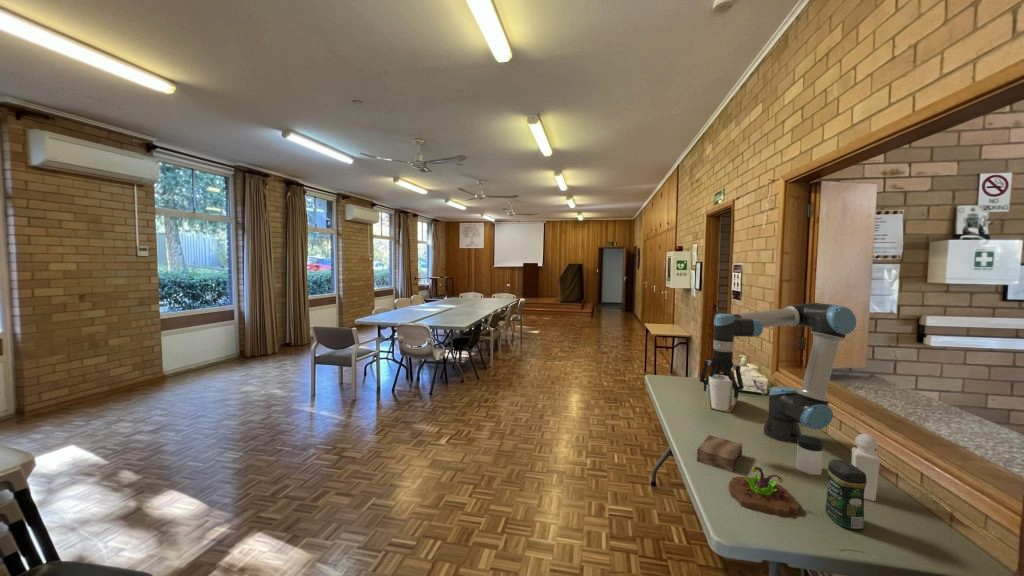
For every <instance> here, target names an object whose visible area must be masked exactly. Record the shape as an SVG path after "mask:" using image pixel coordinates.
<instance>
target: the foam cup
mask: <svg viewBox="0 0 1024 576" xmlns="http://www.w3.org/2000/svg"><path fill="white" fill-rule="evenodd" d="M708 384H710V395H711V405H712V407H713V408H715V409H718V410H717V411H720V410H728V408H729V403H730V398H731V393H732V388H733V386H732V381H731V380H729V377H728V376H723V375H713V377H711V376H709V383H708ZM715 409H714V410H715Z"/></svg>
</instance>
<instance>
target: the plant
mask: <svg viewBox="0 0 1024 576" xmlns="http://www.w3.org/2000/svg"><path fill="white" fill-rule="evenodd" d="M751 471H752V472H753V473H755V472H757V471H758V472H759V474H760V475H758V474H754V477H753V476H750V477H747V476H746V477H745V476H736V477H735V476H734V477H732V478H731V480H730V481H729V482H728V491H729V495H730V497H731V498H733V499H734V500H736V502H737V503H738V504H739V506H740V507H742V508H745V509H750V510H755V511H758V512H762V513H770V514H772V515H775V516H777V517H779V516H783V515H784V517H789V516H790V514H793V515H796V516H797V515H799V513H800V504H799V503H798V501H796V499H795V498H794V497H793V496H792V494H791V493H790V492H789V491H788V489H786V488H785V487H783V486H782V485H780V484H778V483H777V481H776V480H771V479H772V478H773V477H774V478H775V477H777V478H778V479H777V480H778V482H779V483H783V482H784V481H783V480H784V479H783V478H782V477H781V476H779V475H777V474H770V475H768V476H767V477H765V476H764V475H765V473H764V472H763V469H762V468H761V467H757V466H754V467H752V468H751Z"/></svg>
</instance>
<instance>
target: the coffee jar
mask: <svg viewBox="0 0 1024 576" xmlns="http://www.w3.org/2000/svg"><path fill="white" fill-rule="evenodd" d="M827 477H828V478H827V493H826V501H825V507H824V508H825V513H826V515H827V516H828V517H829V518H830V519H831V520H832V521H833V522H834V523H835V524H837V525H838V526H840V527H841V528H845V529H848V530H851V531H853V530H855V531H858V530H863V529H864V528H865V505H864V504H865V499H864V490H865V487H866V484H867V483H866V482H867V481H866V474H865V473H864V472H862V471H861V470H860V469H858V468H857V467H855V466H854V465H852V463H850V462H849V461H847V460H845V459H831V460H830V461H829V462H828V465H827Z"/></svg>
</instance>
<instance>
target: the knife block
mask: <svg viewBox="0 0 1024 576" xmlns="http://www.w3.org/2000/svg"><path fill="white" fill-rule="evenodd" d="M712 359H713V358H712ZM712 359H710V361H712ZM710 366H711V371H712V370H713V368H714V367H713V365H712V364H710ZM730 370H731V372H732V375H733V377H734V379H735V381H736V382H737V379H736V373H735V371H733V370H732V368H731V369H730ZM709 374H710V373H708V375H707V377H708V376H709ZM714 375H723V376H728V375H727V374H726V373H723V372H718V371H716V373H715V374H714ZM733 389H734V388H732V390H733ZM738 397H739V396H738ZM738 397H737V398H735V405H734V406H732V405H731V402H732V393H731V398H730V403H729V408H728V410H718V409H715V408H713V407H712V405H711V395H710V397H709V409H710V410H716V411H722V412H725V413H729V412H730V413H732V412H733V410H734V408H735V406H736V404H737V402H738V400H739V398H738Z"/></svg>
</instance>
